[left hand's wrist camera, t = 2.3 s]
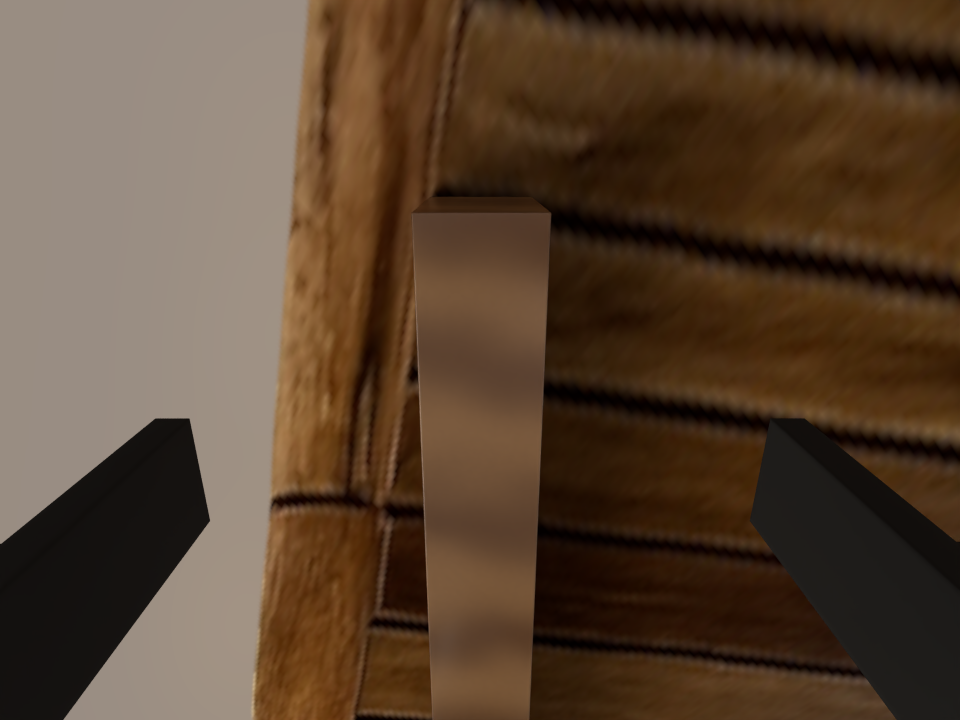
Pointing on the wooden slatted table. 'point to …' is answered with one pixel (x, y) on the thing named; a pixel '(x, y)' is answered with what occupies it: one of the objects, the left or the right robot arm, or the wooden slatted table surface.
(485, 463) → the beam
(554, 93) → the wooden slatted table surface
